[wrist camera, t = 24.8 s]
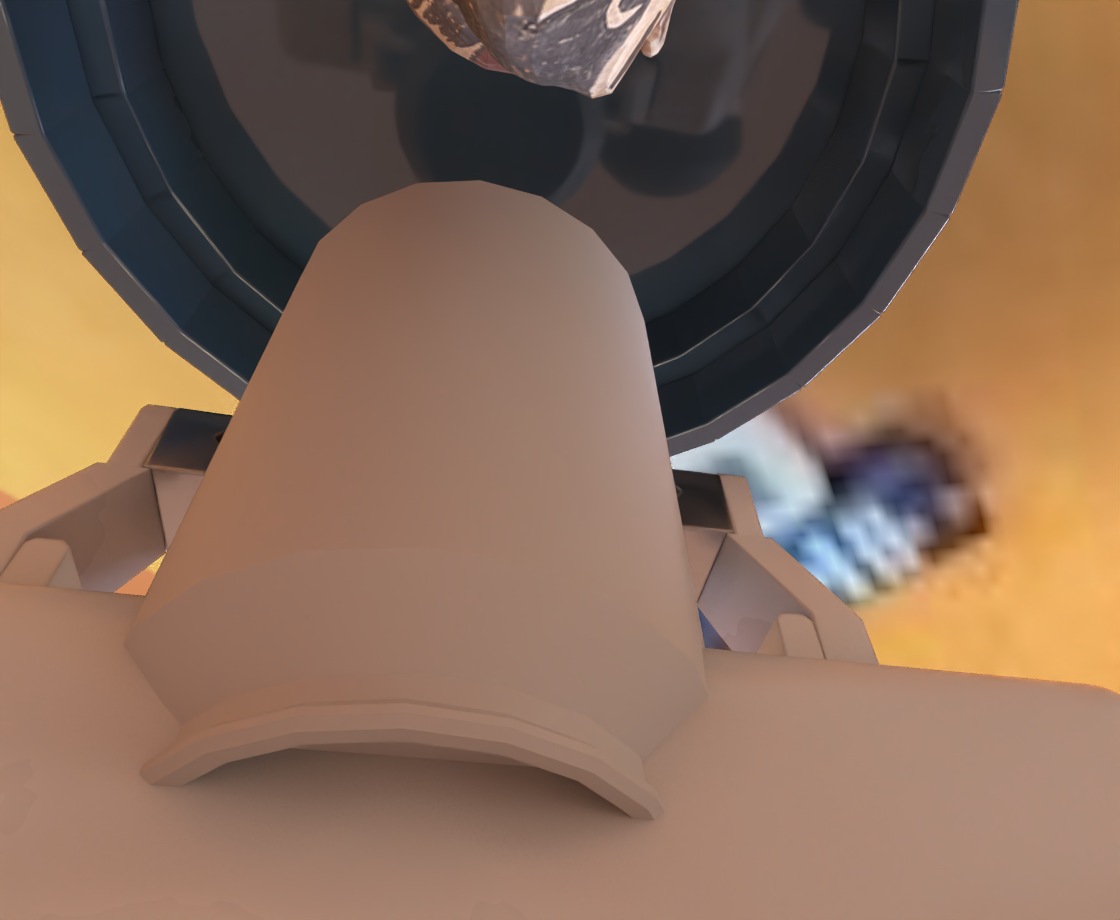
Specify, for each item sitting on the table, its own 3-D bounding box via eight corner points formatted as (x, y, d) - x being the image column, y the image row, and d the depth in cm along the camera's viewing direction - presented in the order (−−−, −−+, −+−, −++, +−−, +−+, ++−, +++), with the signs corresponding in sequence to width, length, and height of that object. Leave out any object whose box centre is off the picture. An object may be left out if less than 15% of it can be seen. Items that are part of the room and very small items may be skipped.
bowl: (806, -922, 13) (937, -1275, 8) (971, 227, 25) (1059, 321, 20) (-121, -204, 18) (-328, -197, 14) (387, 453, 30) (361, 565, 26)
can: (284, 140, 16) (-91, 671, 6) (673, 184, 16) (844, 723, 7) (313, 447, 20) (121, 1005, 11) (612, 471, 21) (667, 1018, 12)
